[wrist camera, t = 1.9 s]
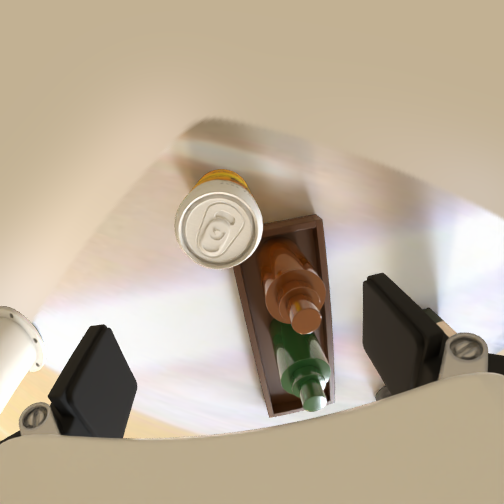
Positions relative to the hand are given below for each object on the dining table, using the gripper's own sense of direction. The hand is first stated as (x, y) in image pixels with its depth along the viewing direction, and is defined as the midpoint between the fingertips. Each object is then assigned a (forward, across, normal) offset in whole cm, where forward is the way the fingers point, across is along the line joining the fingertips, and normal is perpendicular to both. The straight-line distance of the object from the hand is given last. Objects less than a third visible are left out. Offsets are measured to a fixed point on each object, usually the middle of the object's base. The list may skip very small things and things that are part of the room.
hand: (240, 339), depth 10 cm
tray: (+26, -4, +18) cm, 31 cm away
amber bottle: (+25, -4, +7) cm, 26 cm away
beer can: (+26, +1, -1) cm, 26 cm away
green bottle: (+25, -4, +17) cm, 31 cm away
